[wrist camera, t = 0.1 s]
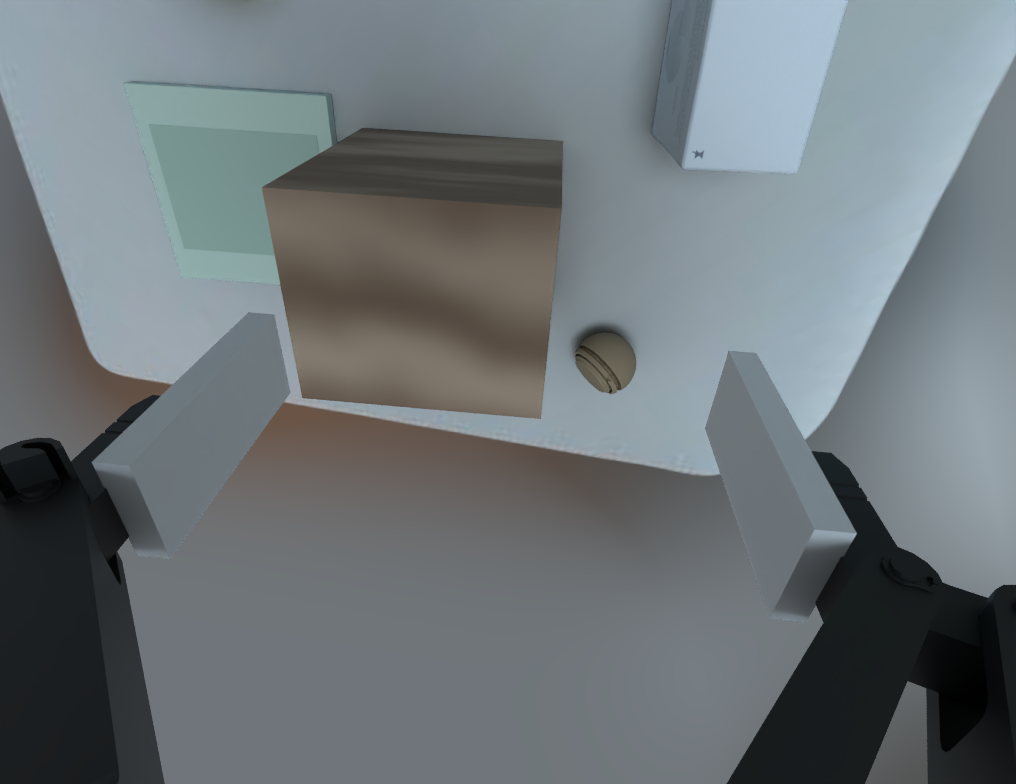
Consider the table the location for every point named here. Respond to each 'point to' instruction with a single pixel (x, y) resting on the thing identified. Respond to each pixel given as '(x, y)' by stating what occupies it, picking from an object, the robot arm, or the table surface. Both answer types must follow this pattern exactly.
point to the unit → (421, 269)
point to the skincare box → (743, 81)
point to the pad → (224, 168)
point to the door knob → (606, 362)
